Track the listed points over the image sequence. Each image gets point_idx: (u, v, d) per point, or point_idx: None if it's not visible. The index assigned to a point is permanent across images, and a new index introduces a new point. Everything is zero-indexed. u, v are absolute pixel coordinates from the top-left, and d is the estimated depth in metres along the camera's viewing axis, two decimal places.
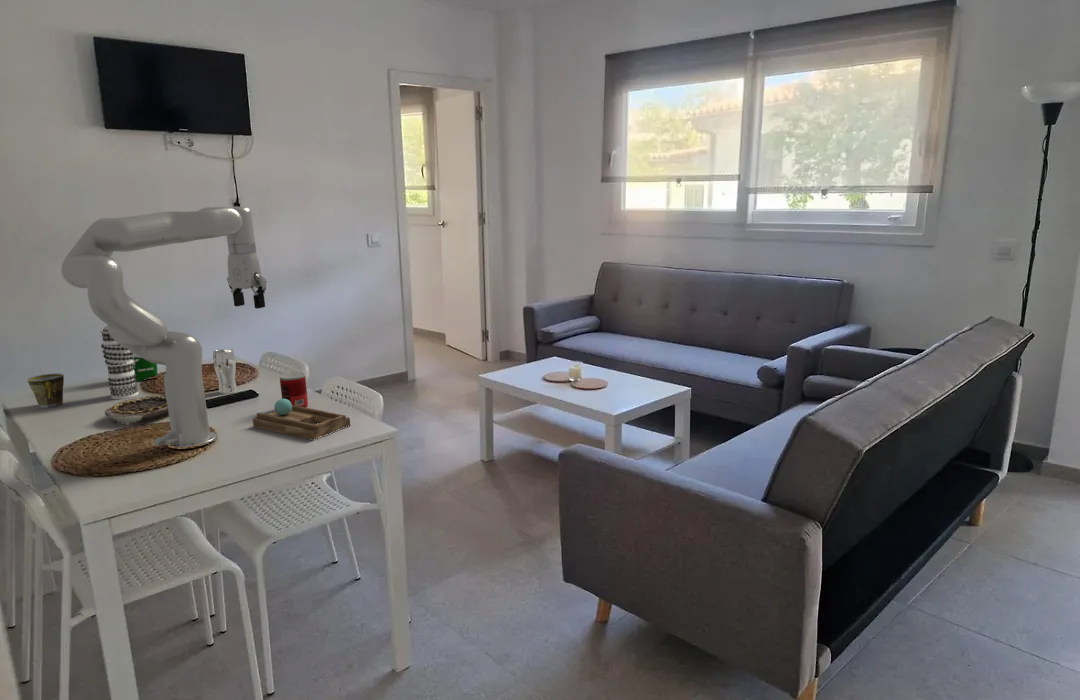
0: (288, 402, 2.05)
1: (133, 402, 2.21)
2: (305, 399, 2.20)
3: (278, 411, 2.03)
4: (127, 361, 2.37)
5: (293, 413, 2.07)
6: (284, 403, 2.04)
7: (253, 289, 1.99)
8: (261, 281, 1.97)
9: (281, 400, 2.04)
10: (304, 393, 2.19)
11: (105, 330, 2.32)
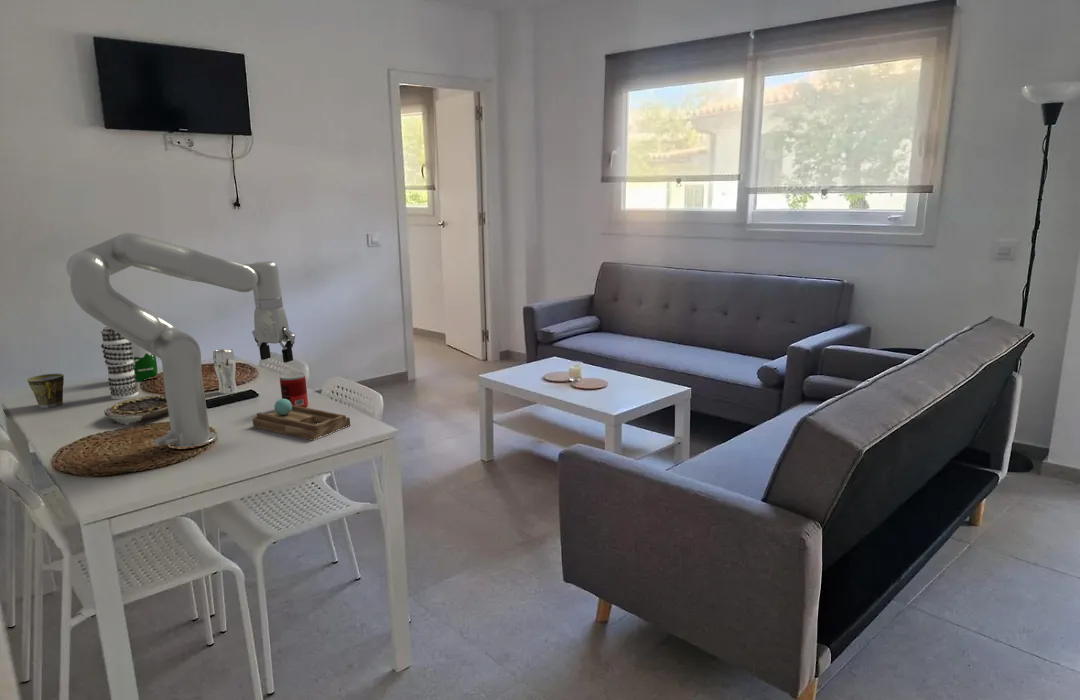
0: (288, 402, 2.05)
1: (133, 402, 2.21)
2: (305, 399, 2.20)
3: (278, 411, 2.03)
4: (127, 361, 2.37)
5: (293, 413, 2.07)
6: (284, 403, 2.04)
7: (281, 343, 1.98)
8: (290, 336, 1.97)
9: (281, 400, 2.04)
10: (304, 393, 2.19)
11: (105, 330, 2.32)
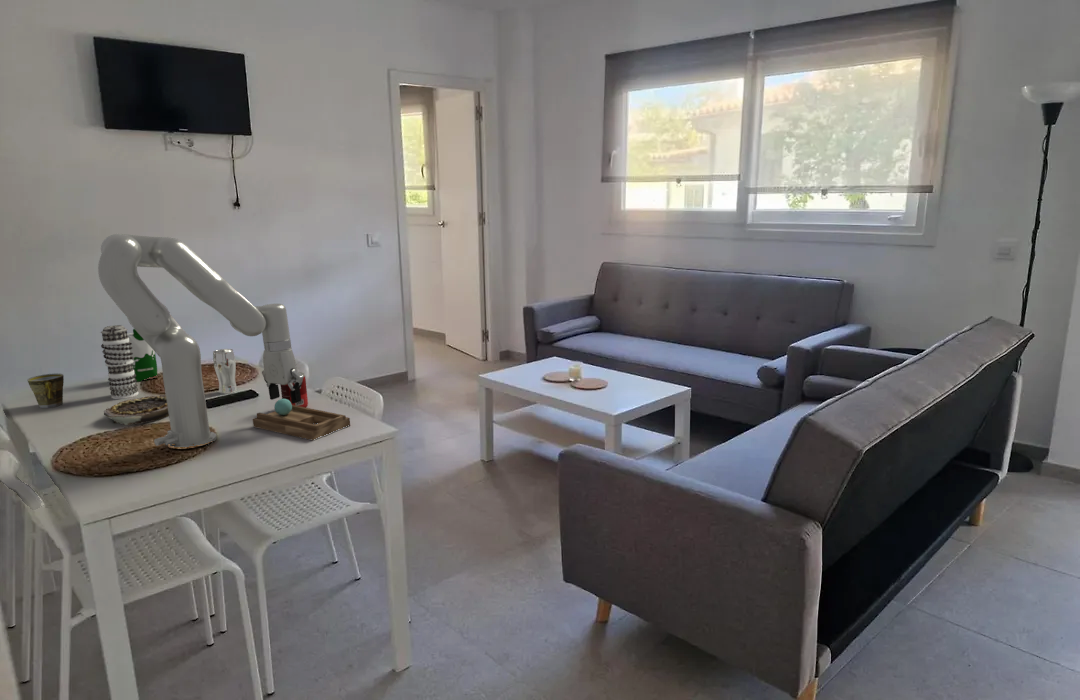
0: (288, 402, 2.05)
1: (132, 402, 2.21)
2: (305, 399, 2.20)
3: (278, 411, 2.03)
4: (127, 361, 2.37)
5: (293, 413, 2.07)
6: (284, 403, 2.04)
7: (290, 385, 2.00)
8: (298, 378, 1.99)
9: (281, 400, 2.04)
10: (304, 393, 2.19)
11: (105, 330, 2.32)
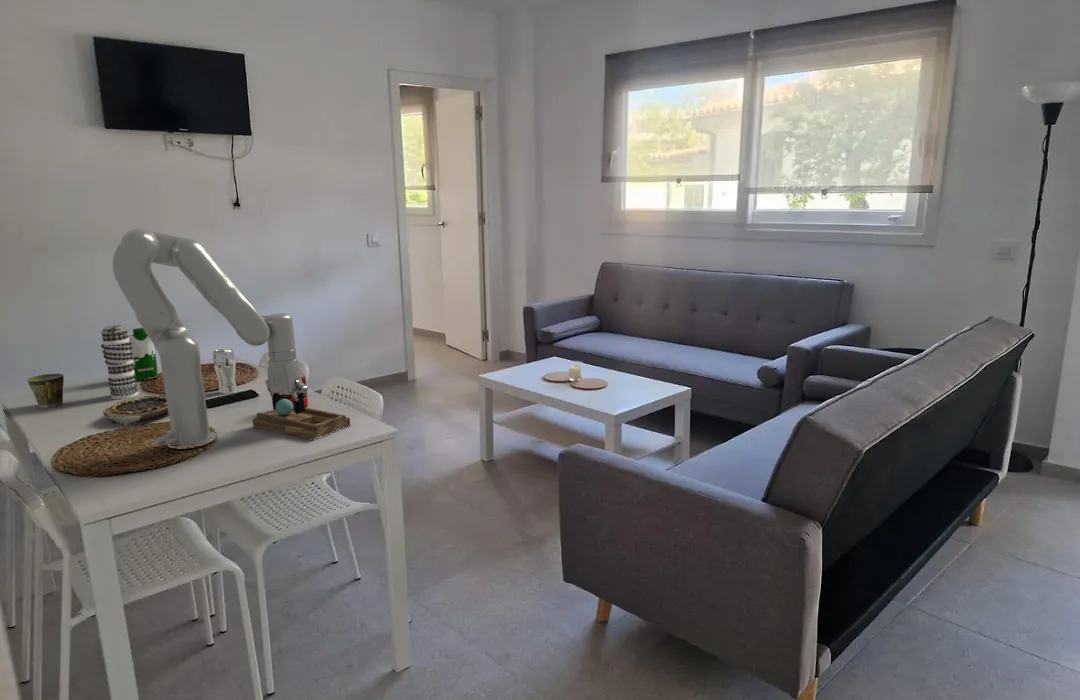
0: (290, 403, 2.04)
1: (131, 402, 2.21)
2: (305, 399, 2.20)
3: (279, 411, 2.03)
4: (127, 361, 2.37)
5: (293, 413, 2.07)
6: (286, 404, 2.03)
7: (294, 395, 2.00)
8: (302, 388, 1.98)
9: (283, 401, 2.04)
10: None
11: (105, 330, 2.32)
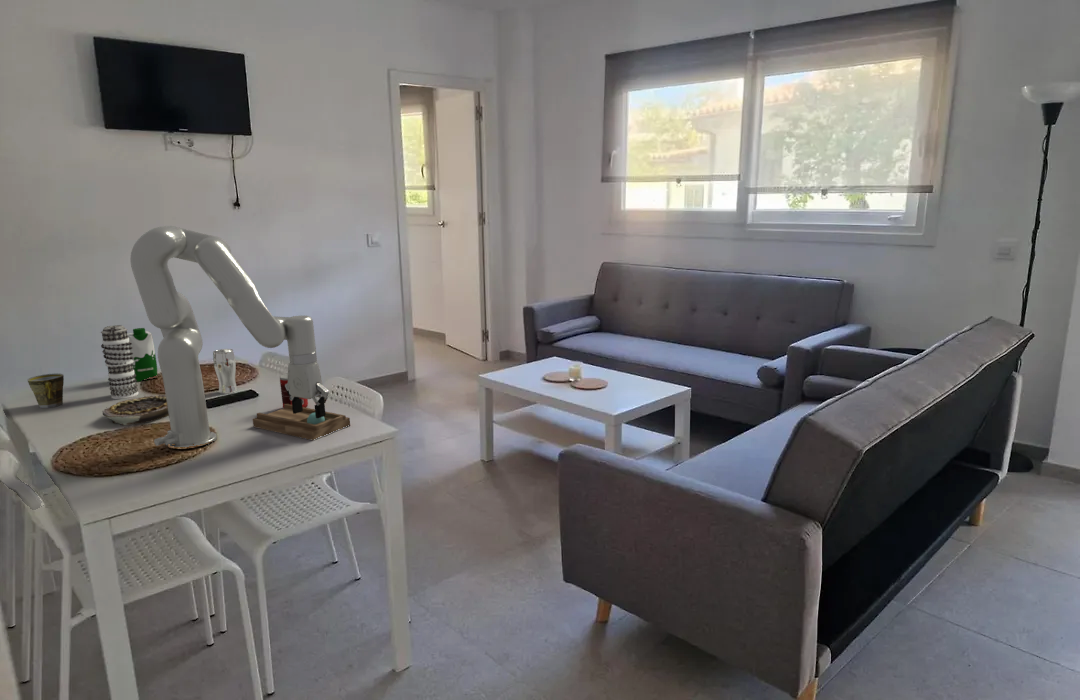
0: None
1: (131, 402, 2.21)
2: (305, 399, 2.20)
3: None
4: (127, 361, 2.37)
5: None
6: (314, 414, 1.98)
7: (314, 399, 1.95)
8: (323, 392, 1.94)
9: (311, 414, 1.99)
10: None
11: (105, 330, 2.32)
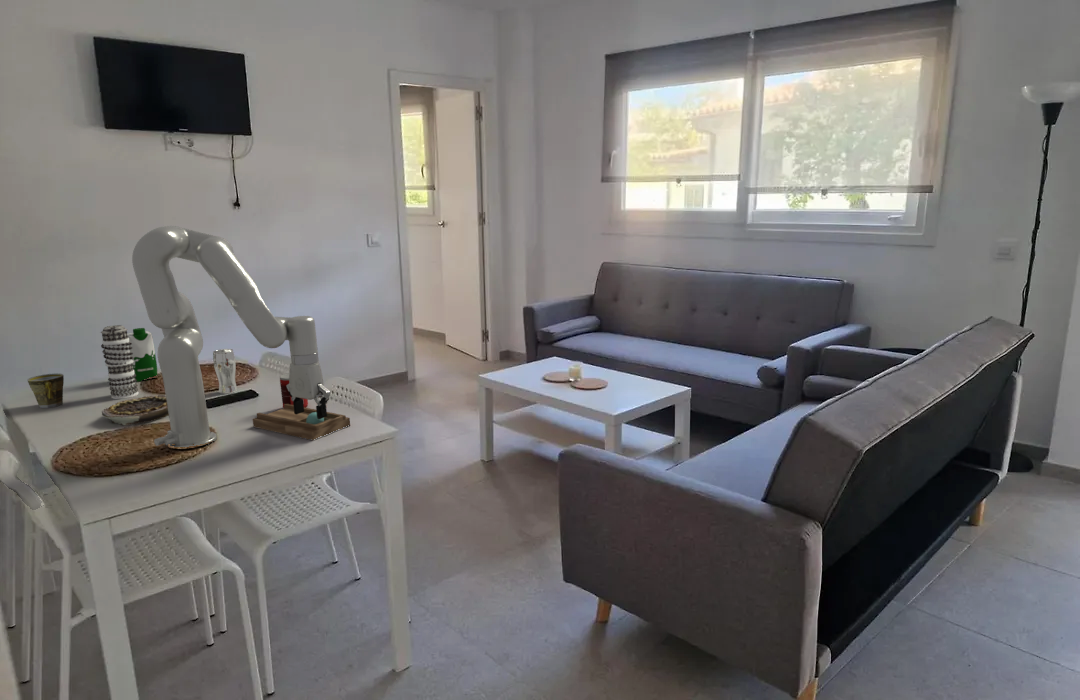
0: (316, 412, 1.99)
1: (130, 402, 2.21)
2: (305, 399, 2.20)
3: None
4: (127, 361, 2.37)
5: (293, 413, 2.07)
6: (312, 414, 1.98)
7: (316, 400, 1.95)
8: (325, 392, 1.93)
9: (309, 414, 1.99)
10: None
11: (105, 330, 2.32)
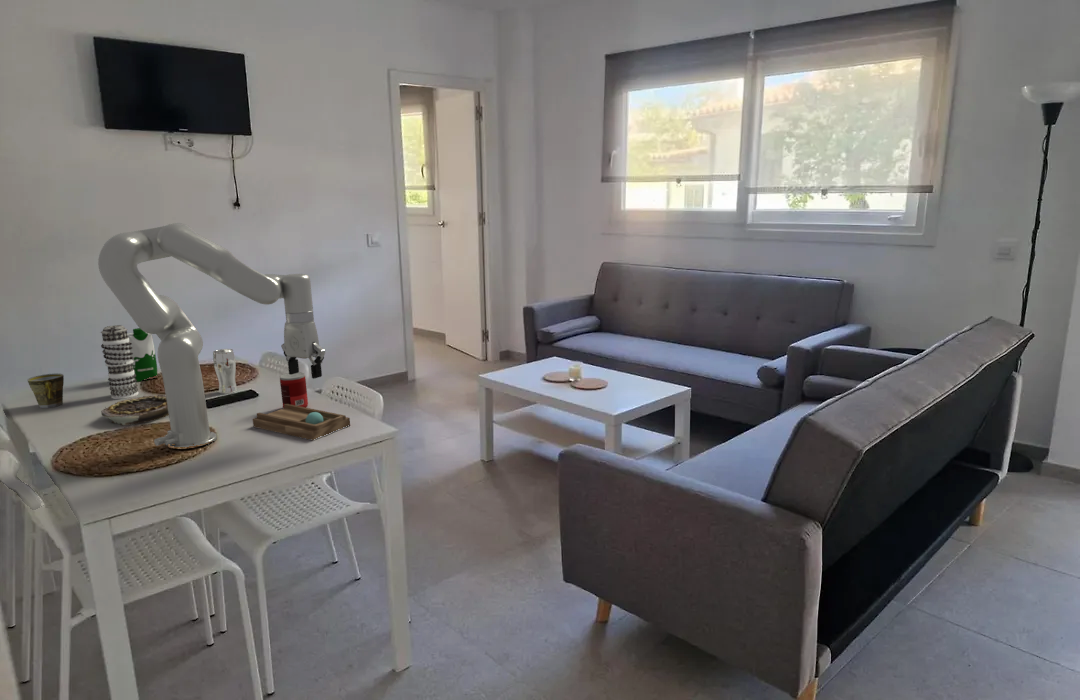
0: (315, 412, 2.00)
1: (130, 402, 2.21)
2: (305, 399, 2.20)
3: (310, 423, 1.98)
4: (127, 361, 2.37)
5: (293, 413, 2.07)
6: (311, 414, 1.99)
7: (311, 359, 1.92)
8: (320, 351, 1.91)
9: (308, 414, 2.00)
10: (304, 393, 2.19)
11: (105, 330, 2.32)
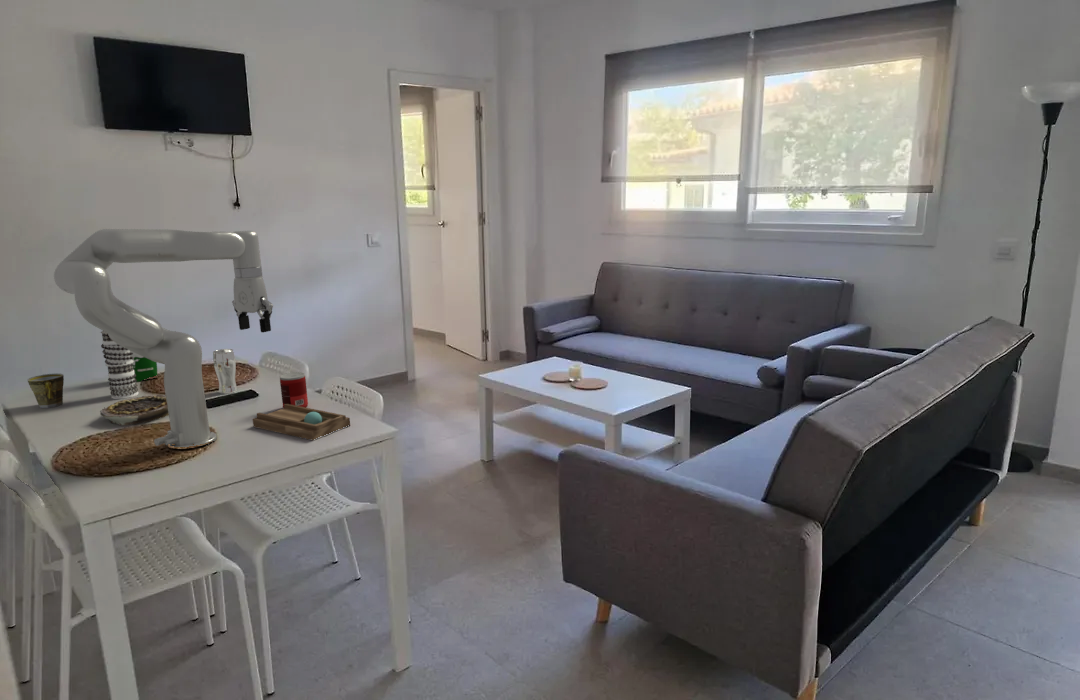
0: None
1: (129, 402, 2.21)
2: (305, 399, 2.20)
3: (308, 422, 1.98)
4: (127, 361, 2.37)
5: (293, 413, 2.07)
6: (308, 413, 1.99)
7: (259, 313, 1.98)
8: (267, 305, 1.97)
9: None
10: (304, 393, 2.19)
11: None
